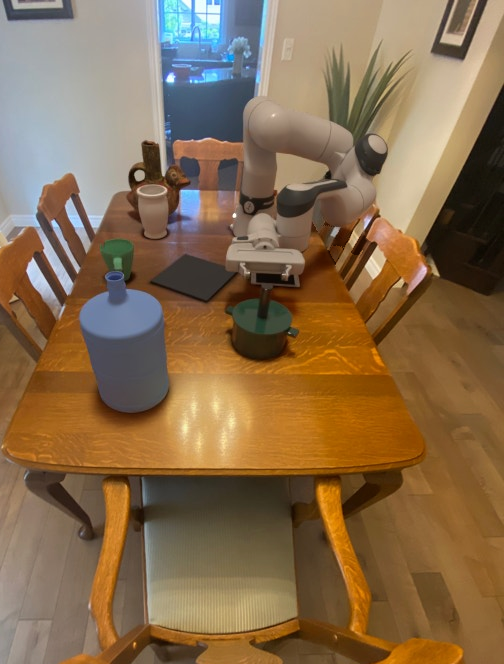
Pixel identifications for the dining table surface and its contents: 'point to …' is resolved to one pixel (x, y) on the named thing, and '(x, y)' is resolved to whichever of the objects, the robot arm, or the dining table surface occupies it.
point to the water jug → (126, 346)
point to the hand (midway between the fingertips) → (265, 277)
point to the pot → (259, 341)
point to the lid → (262, 315)
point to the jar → (153, 210)
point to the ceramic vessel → (156, 177)
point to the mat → (194, 277)
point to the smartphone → (274, 280)
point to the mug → (118, 256)
